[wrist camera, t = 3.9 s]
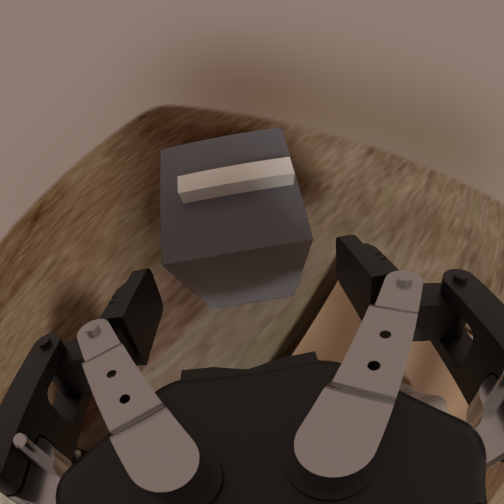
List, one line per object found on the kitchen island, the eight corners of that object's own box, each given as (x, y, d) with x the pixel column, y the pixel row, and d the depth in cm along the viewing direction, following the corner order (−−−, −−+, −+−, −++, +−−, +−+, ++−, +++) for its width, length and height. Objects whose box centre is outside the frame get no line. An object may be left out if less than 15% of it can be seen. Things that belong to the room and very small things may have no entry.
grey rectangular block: (213, 308, 20) (154, 257, 10) (204, 234, 22) (155, 138, 12) (293, 295, 20) (316, 230, 10) (278, 222, 22) (281, 114, 12)
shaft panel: (237, 429, 17) (222, 458, 11) (347, 262, 20) (373, 225, 15) (408, 507, 13) (443, 539, 7) (493, 358, 17) (543, 351, 11)
